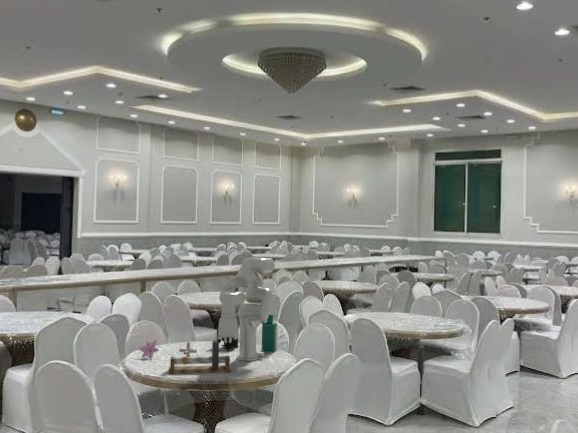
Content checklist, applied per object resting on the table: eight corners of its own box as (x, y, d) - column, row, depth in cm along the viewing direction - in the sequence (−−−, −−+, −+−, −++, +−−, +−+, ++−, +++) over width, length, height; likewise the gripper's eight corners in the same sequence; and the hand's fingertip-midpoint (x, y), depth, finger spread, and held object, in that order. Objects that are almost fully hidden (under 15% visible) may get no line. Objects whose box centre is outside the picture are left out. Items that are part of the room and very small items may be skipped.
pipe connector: (193, 362, 343) (193, 344, 343) (176, 361, 345) (176, 343, 345) (199, 358, 353) (199, 341, 353) (182, 357, 355) (183, 339, 355)
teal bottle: (277, 349, 380) (278, 314, 380) (274, 352, 372) (275, 316, 372) (262, 348, 382) (263, 313, 382) (258, 351, 374) (259, 315, 374)
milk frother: (234, 344, 391) (235, 321, 391) (246, 349, 378) (246, 325, 377) (214, 346, 384) (214, 323, 384) (225, 352, 370) (225, 327, 370)
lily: (136, 357, 355) (134, 345, 350) (153, 347, 362) (151, 335, 358) (148, 367, 348) (146, 355, 343) (165, 357, 355) (163, 344, 350)
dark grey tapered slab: (217, 365, 332) (218, 340, 331) (218, 369, 324) (218, 343, 324) (211, 365, 331) (212, 340, 331) (212, 369, 324) (213, 343, 323)
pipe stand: (229, 367, 334) (229, 353, 334) (230, 372, 324) (231, 358, 324) (169, 368, 329) (169, 354, 329) (169, 373, 318) (169, 359, 318)
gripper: (241, 314, 334) (240, 348, 334) (214, 314, 331) (213, 348, 331) (243, 316, 326) (242, 351, 326) (214, 317, 323) (214, 351, 324)
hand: (227, 349), depth 329 cm, fingers closed
